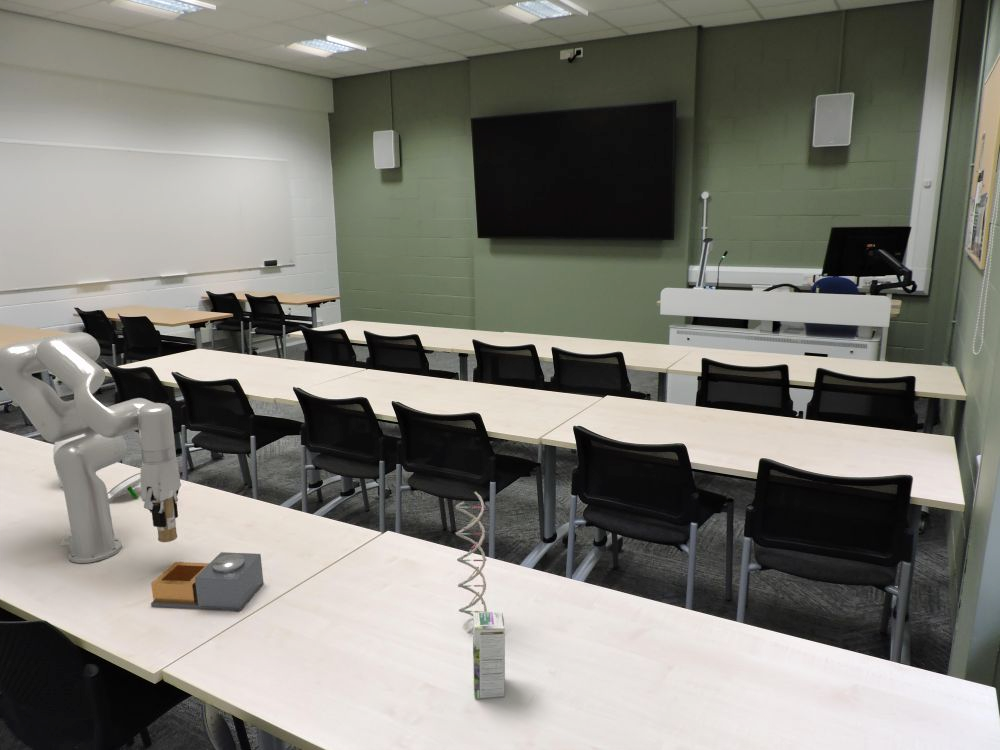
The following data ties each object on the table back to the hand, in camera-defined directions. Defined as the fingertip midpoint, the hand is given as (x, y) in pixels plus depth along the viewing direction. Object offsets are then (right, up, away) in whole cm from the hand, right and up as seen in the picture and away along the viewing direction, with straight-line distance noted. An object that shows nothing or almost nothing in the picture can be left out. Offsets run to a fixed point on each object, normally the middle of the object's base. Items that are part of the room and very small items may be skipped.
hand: (165, 521), depth 176 cm
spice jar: (0, -5, +1) cm, 5 cm away
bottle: (-57, 0, +58) cm, 82 cm away
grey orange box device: (+16, -15, -9) cm, 23 cm away
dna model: (+78, -18, -24) cm, 84 cm away
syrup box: (+82, -22, -44) cm, 96 cm away
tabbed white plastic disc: (-35, -3, +47) cm, 59 cm away
